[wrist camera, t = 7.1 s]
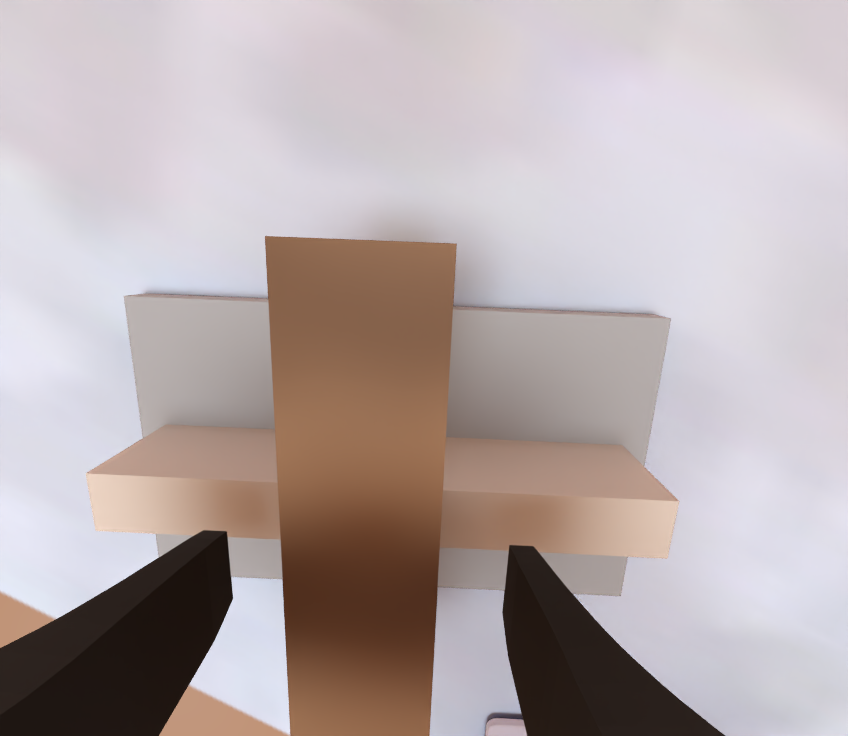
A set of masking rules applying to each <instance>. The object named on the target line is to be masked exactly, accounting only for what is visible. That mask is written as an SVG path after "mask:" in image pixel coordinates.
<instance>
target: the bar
mask: <svg viewBox="0 0 848 736" xmlns="http://www.w3.org/2000/svg"><path fill="white" fill-rule="evenodd" d="M265 245H266V265H267V284H268V304H269V323H270V343H271V362H272V382H273V402H274V421H275V441H276V460H277V480H278V499H279V519H280V539H281V558H282V578H283V597H284V617H285V636H286V656H287V676H288V695H289V715H290V734H291V736H429V733H430V715H431V697H432V679H433V661H434V643H435V624H436V606H437V588H438V570H439V552H440V534H441V516H442V498H443V480H444V462H445V444H446V426H447V408H448V390H449V372H450V354H451V336H452V317H453V299H454V281H455V263H456V245H457V244H450V243H425V242H399V241H374V240H349V239H323V238H298V237H273V236H265Z"/></svg>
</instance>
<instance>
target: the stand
mask: <svg viewBox="0 0 848 736" xmlns="http://www.w3.org/2000/svg"><path fill="white" fill-rule="evenodd" d="M124 301H125V309H126V316H127V324H128V331H129V339H130V346H131V353H132V361H133V368H134V376H135V383H136V391H137V398H138V406H139V413H140V421H141V428H142V436H143V439H141V440H140V441H138V442H136V443H135V444H133V445H131V446H130V447H128V448H127V449H125V450H123V451H122V452H120V453H118V454H117V455H115V456H114V457H112V458H110V459H109V460H107V461H105V462H104V463H102V464H100V465H99V466H97V467H96V468H94V469H92V470H91V471H89V472H87V473H86V478H87V483H88V489H89V495H90V501H91V507H92V512H93V518H94V524H95V530H96V531H112V532H132V533H153V534H156V540H157V547H158V555H159V557H161V556H162V555H164V554H165V553H167V552H168V551H170V550H172V549H173V548H175V547H176V546H178V545H179V544H181V543H183V542H184V541H186V540H187V539H189V538H191V537H192V536H194V535H196V534H197V533H199V532H201V531H203V530H212V531H227V536H228V548H229V559H230V571H231V577H248V578H268V579H283V578H282V558H281V539H280V519H279V499H278V480H277V460H276V441H275V421H274V402H273V382H272V362H271V343H270V323H269V304H268V299H265V298H241V297H216V296H192V295H168V294H137V295H129V296H124ZM670 322H671V319H670V318H666V317H662V316H658V315H653V314H629V313H605V312H580V311H556V310H532V309H508V308H483V307H459V306H453V317H452V336H451V354H450V372H449V390H448V408H447V426H446V444H445V462H444V480H443V498H442V516H441V534H440V552H439V570H438V587H448V588H468V589H488V590H505V583H506V573H507V563H508V553H509V545H521V546H534V547H535V548H536V550H537V551H538V552H539V553H540V554H541V556H542V557H543V558H544V559H545V561H546V562H547V563H548V564H549V566H550V567H551V568H552V570H553V571H554V572H555V573H556V575H557V576H558V577H559V578H560V579H561V581H562V582H563V583H564V584H565V586H566V587H567V588H568V589H569V590H570V592H571V593H572V594H588V595H609V596H621V591H622V585H623V580H624V574H625V569H626V563H627V558H628V557H646V558H667V557H668V552H669V548H670V543H671V538H672V533H673V529H674V524H675V519H676V514H677V509H678V505H679V501H678V500H677V499H676V498H675V497H674V496H673V495H672V494H671V493H670V492H669V491H668V490H667V489H666V488H665V487H664V486H663V485H662V484H661V483H660V482H659V481H658V480H657V479H656V478H655V477H654V476H653V475H652V474H651V473H650V472H649V471H648V470H647V469H646V468H645V467H644V465H645V459H646V454H647V448H648V443H649V437H650V432H651V426H652V421H653V415H654V410H655V404H656V399H657V393H658V388H659V382H660V377H661V371H662V366H663V360H664V355H665V349H666V344H667V338H668V333H669V327H670Z"/></svg>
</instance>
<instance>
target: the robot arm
mask: <svg viewBox="0 0 848 736" xmlns="http://www.w3.org/2000/svg"><path fill="white" fill-rule="evenodd" d="M232 599H233V594H232V582H231V571H230V559H229V548H228V536H227V531H212V530H203V531H201V532H199V533H197V534H196V535H194V536H192V537H191V538H189V539H187V540H186V541H184V542H183V543H181V544H179V545H178V546H176V547H175V548H173V549H172V550H170V551H168V552H167V553H165V554H164V555H162V556H161V557H159V558H157V559H156V560H154V561H153V562H151V563H150V564H148V565H146V566H145V567H143V568H142V569H140V570H138V571H137V572H135V573H134V574H132V575H131V576H129V577H127V578H126V579H124V580H123V581H121V582H119V583H118V584H116V585H114V586H113V587H111V588H109V589H108V590H106V591H104V592H102V593H101V594H99V595H97V596H96V597H94V598H92V599H91V600H89V601H87V602H85V603H84V604H82V605H80V606H79V607H77V608H75V609H74V610H72V611H70V612H68V613H67V614H65V615H63V616H61V617H59V618H58V619H56V620H54V621H52V622H50V623H48V624H47V625H45V626H43V627H41V628H39V629H37V630H35V631H34V632H31V633H29V634H27V635H25V636H23V637H21V638H19V639H18V640H16V641H14V642H12V643H10V644H8V645H6V646H4V647H2V648H0V736H159V734H160V733H161V731H162V729H163V728H164V726H165V724H166V723H167V721H168V719H169V717H170V716H171V714H172V712H173V711H174V709H175V707H176V706H177V704H178V702H179V700H180V699H181V697H182V695H183V693H184V692H185V690H186V689H187V687H188V685H189V684H190V682H191V680H192V678H193V677H194V675H195V673H196V672H197V670H198V668H199V666H200V665H201V663H202V661H203V660H204V658H205V656H206V654H207V653H208V651H209V649H210V647H211V646H212V644H213V642H214V640H215V638H216V636H217V634H218V632H219V629H220V627H221V625H222V623H223V621H224V618H225V616H226V614H227V611H228V609H229V606H230V604H231V602H232ZM503 620H504V628H505V636H506V644H507V651H508V657H509V662H510V666H511V670H512V674H513V679H514V683H515V687H516V691H517V696H518V700H519V704H520V708H521V712H522V717H523V719H505V718H493V719H491V720H489V721H488V722H487V725H486V733H485V736H725V735H724V734H722V733H721V732H720V731H718V730H717V729H716V728H714V727H713V726H712V725H711V724H709V723H708V722H707V721H706V720H704V719H703V718H702V717H701V716H699V715H698V714H697V713H696V712H694V711H693V710H692V709H691V708H689V707H688V706H687V705H686V704H684V703H683V702H682V701H681V700H679V699H678V698H677V697H676V696H675V695H674V694H672V693H671V692H670V691H669V690H668V689H666V688H665V687H664V686H663V685H662V684H661V683H660V682H659V681H657V680H656V679H655V678H654V677H653V676H652V675H651V674H650V673H649V672H647V671H646V670H645V669H644V668H643V667H642V666H641V665H640V664H639V663H638V662H636V661H635V660H634V659H633V658H632V657H631V656H630V655H629V654H628V653H627V652H626V651H625V650H624V649H623V648H622V647H621V646H620V645H619V644H618V643H617V642H616V641H615V640H614V639H613V638H612V637H611V636H610V635H609V634H608V633H607V632H606V631H605V630H604V629H603V628H602V627H601V626H600V624H599V623H598V622H597V621H596V620H595V619H594V618H593V617H592V616H591V615H590V613H589V612H588V611H587V610H586V609H585V608H584V607H583V605H582V604H581V603H580V602H579V601H578V600H577V599H576V597H575V596H574V595H573V594H572V593H571V592H570V590H569V589H568V588H567V587H566V586H565V584H564V583H563V582H562V581H561V579H560V578H559V577H558V576H557V575H556V573H555V572H554V571H553V570H552V568H551V567H550V566H549V564H548V563H547V562H546V561H545V559H544V558H543V557H542V556H541V554H540V553H539V552H538V551H537V550H536V548H535V547H534V546H521V545H509V553H508V563H507V573H506V583H505V593H504V602H503Z"/></svg>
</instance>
